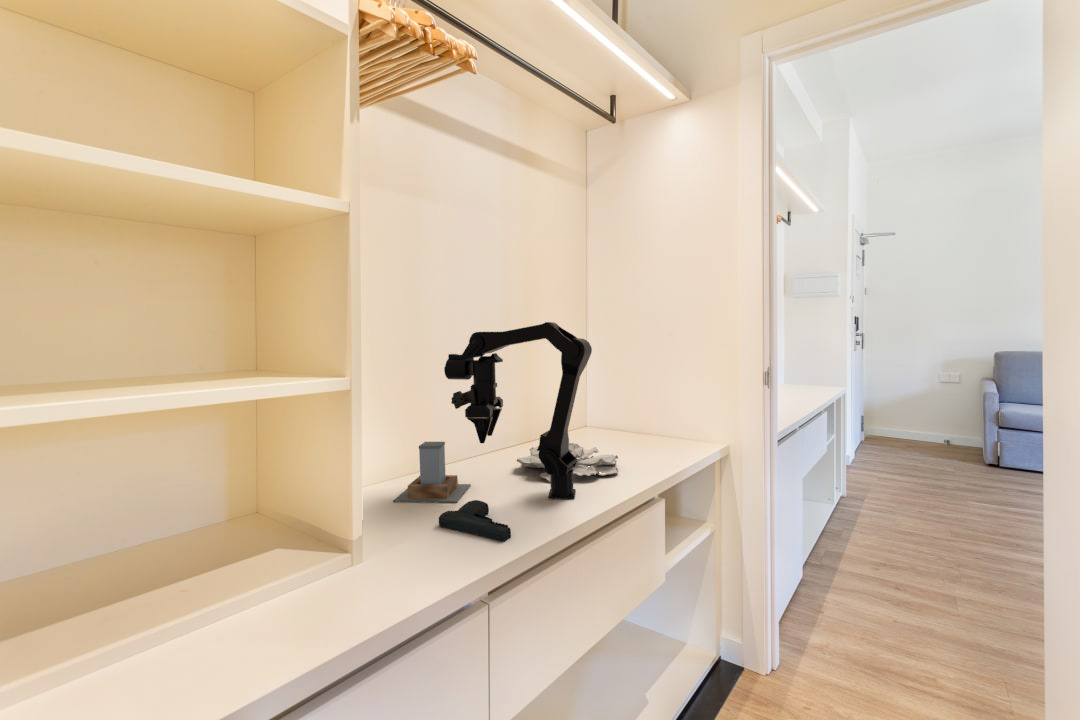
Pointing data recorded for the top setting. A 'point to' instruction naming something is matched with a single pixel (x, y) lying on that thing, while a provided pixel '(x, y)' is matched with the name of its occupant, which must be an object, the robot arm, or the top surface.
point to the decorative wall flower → (581, 464)
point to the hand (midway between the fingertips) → (486, 439)
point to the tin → (432, 463)
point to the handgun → (475, 521)
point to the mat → (451, 499)
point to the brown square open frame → (433, 488)
